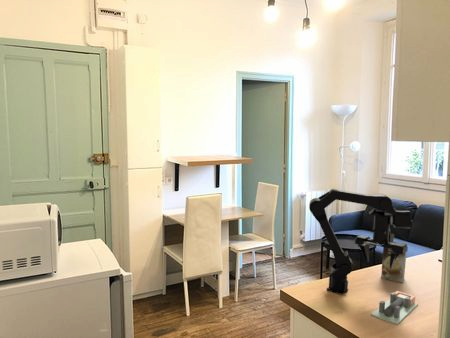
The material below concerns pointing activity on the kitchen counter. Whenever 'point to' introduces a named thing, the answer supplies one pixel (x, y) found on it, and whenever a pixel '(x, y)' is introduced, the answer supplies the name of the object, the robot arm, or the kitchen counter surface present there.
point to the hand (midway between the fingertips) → (379, 265)
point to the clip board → (396, 308)
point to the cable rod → (395, 304)
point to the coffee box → (398, 268)
